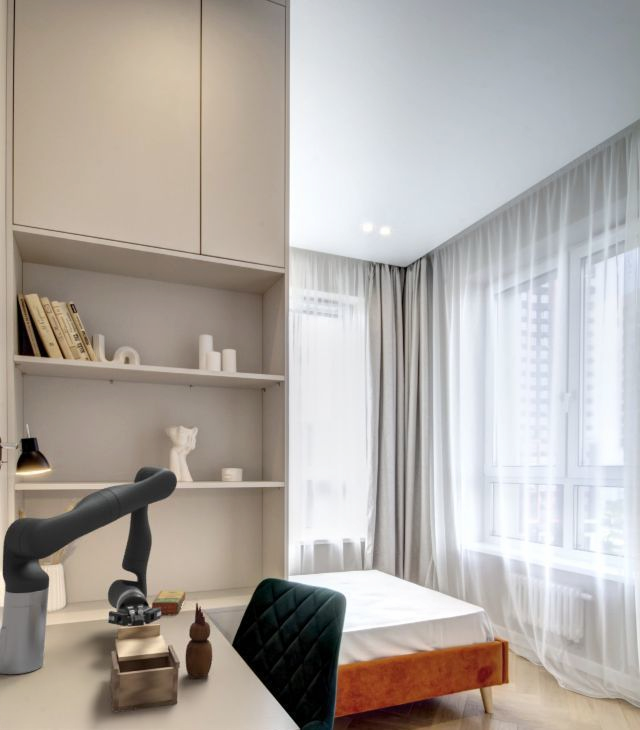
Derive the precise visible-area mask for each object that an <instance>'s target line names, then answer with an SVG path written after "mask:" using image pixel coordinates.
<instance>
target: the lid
mask: <svg viewBox="0 0 640 730" xmlns="http://www.w3.org/2000/svg"><path fill="white" fill-rule="evenodd" d="M117 629H118V632H117V638H115V641H114V645H115V649H116V650H115V651H116V654H117V656H118V662H119V661H128V660H137V659H146V658H155V657H164V656H169V651H168V645H167V644H166V641H165V640H164V637H163V635H162V634H161V624H160V623H158V624H157V623H156V624H155V623H154V624H144V625H142V626H131V627H129V626H120V627H118V628H117Z"/></svg>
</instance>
